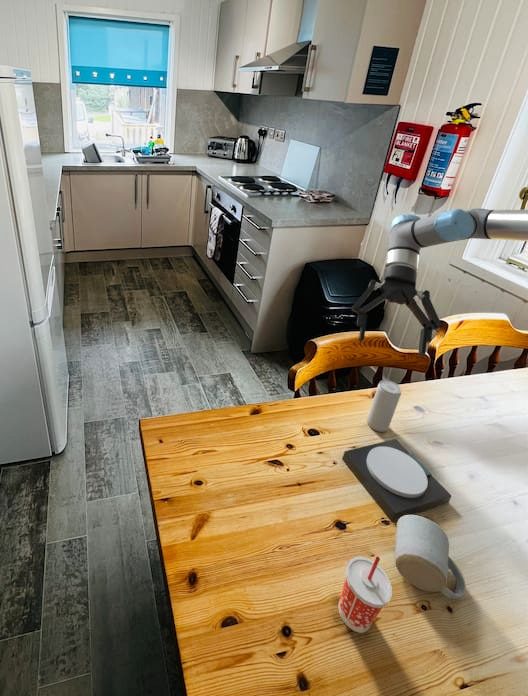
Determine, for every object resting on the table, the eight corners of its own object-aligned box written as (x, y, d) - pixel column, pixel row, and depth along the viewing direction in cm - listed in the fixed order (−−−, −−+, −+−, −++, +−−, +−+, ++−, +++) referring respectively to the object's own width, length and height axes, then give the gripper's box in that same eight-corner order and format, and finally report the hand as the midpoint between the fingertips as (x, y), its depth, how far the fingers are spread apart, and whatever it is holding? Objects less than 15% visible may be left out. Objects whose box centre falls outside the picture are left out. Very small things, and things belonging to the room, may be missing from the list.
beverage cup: (384, 621, 60) (411, 566, 54) (360, 649, 57) (387, 593, 51) (348, 582, 65) (370, 527, 59) (324, 605, 61) (345, 550, 56)
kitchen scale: (448, 503, 78) (453, 492, 77) (391, 521, 74) (396, 509, 73) (392, 446, 90) (397, 435, 89) (341, 459, 86) (345, 447, 85)
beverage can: (377, 415, 99) (390, 377, 94) (392, 430, 95) (407, 391, 90) (361, 419, 97) (374, 381, 92) (376, 435, 93) (390, 395, 88)
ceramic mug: (388, 575, 66) (402, 547, 63) (391, 532, 72) (404, 505, 69) (464, 618, 61) (483, 590, 58) (460, 568, 67) (477, 540, 64)
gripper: (449, 284, 104) (442, 363, 97) (348, 265, 113) (335, 336, 106) (461, 274, 98) (455, 358, 91) (353, 254, 106) (339, 330, 99)
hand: (390, 347), depth 98 cm, fingers open, 13 cm apart
